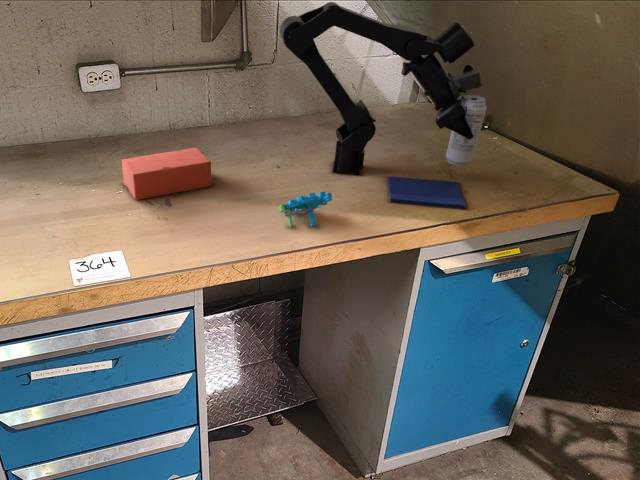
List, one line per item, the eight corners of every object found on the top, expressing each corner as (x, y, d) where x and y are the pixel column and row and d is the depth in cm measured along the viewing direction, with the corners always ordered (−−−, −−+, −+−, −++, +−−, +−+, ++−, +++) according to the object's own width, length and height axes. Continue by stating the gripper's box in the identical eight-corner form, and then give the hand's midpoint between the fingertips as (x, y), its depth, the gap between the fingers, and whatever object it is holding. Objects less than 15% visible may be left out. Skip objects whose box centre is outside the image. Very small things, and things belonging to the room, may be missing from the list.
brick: (196, 171, 143) (196, 147, 140) (211, 186, 137) (211, 161, 133) (123, 183, 137) (121, 158, 133) (135, 200, 130) (133, 174, 127)
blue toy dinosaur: (326, 200, 128) (335, 185, 118) (332, 227, 127) (342, 213, 118) (275, 210, 127) (281, 195, 117) (281, 237, 127) (287, 224, 117)
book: (390, 202, 132) (390, 198, 132) (388, 177, 143) (389, 174, 142) (465, 209, 130) (466, 205, 130) (457, 183, 141) (458, 180, 140)
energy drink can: (473, 160, 143) (491, 97, 134) (467, 169, 139) (485, 104, 130) (448, 154, 145) (464, 92, 137) (441, 162, 141) (457, 98, 132)
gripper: (466, 65, 122) (507, 125, 126) (466, 44, 136) (503, 99, 140) (418, 99, 128) (458, 156, 132) (423, 76, 143) (460, 128, 147)
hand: (471, 133), depth 138 cm, fingers closed on energy drink can, 6 cm apart
